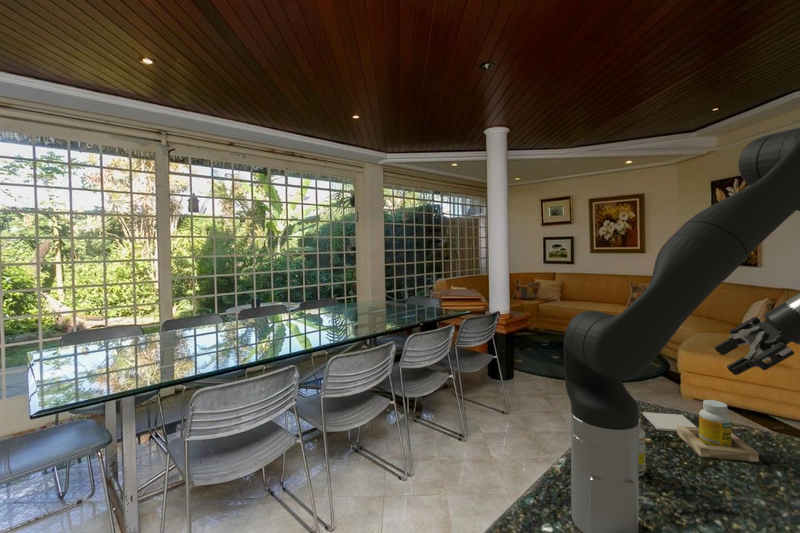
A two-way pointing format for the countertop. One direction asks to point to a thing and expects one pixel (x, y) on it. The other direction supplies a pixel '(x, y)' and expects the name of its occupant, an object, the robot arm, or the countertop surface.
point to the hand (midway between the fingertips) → (724, 361)
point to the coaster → (667, 421)
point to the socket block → (734, 452)
